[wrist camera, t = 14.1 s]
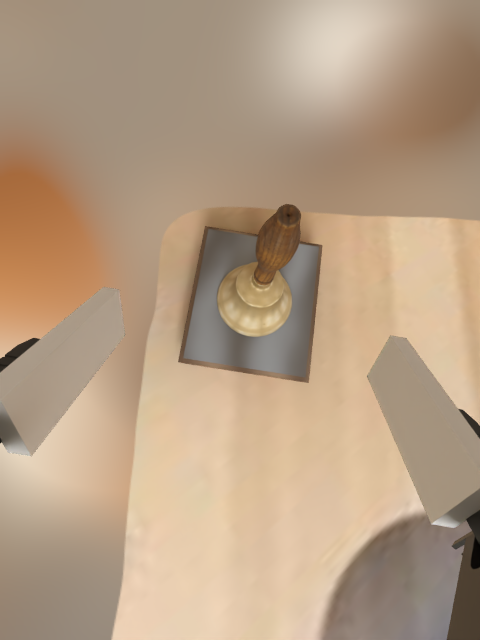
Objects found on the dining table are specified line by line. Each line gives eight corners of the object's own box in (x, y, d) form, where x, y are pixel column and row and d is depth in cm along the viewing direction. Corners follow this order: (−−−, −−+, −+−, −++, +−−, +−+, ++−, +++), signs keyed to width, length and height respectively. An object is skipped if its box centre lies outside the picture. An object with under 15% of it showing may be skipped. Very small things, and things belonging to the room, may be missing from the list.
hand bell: (262, 251, 30) (297, 121, 14) (306, 308, 29) (397, 234, 13) (202, 290, 29) (169, 196, 13) (246, 352, 28) (267, 327, 12)
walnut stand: (312, 258, 35) (323, 243, 31) (299, 381, 31) (309, 382, 27) (207, 241, 34) (205, 224, 31) (183, 363, 31) (177, 361, 27)
